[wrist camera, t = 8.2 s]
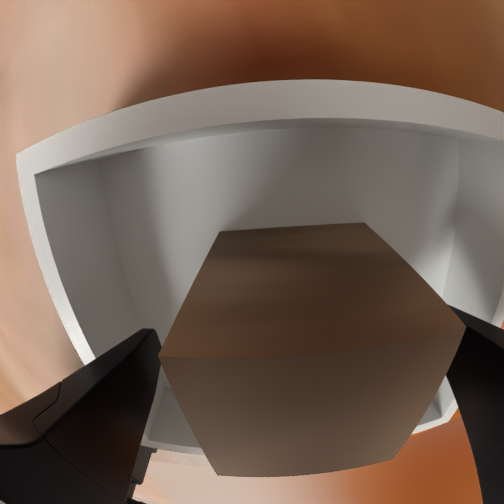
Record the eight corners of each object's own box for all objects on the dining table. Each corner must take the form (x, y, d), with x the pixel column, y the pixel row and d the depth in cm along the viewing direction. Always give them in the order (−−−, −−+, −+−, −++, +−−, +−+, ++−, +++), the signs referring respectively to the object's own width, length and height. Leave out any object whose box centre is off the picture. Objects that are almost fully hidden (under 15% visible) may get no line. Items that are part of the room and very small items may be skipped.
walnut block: (236, 344, 11) (216, 475, 6) (219, 231, 9) (158, 355, 4) (353, 336, 11) (393, 458, 5) (364, 222, 9) (466, 326, 3)
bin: (163, 383, 14) (140, 445, 10) (95, 143, 9) (15, 154, 5) (419, 364, 13) (448, 421, 9) (456, 121, 8) (532, 124, 4)
